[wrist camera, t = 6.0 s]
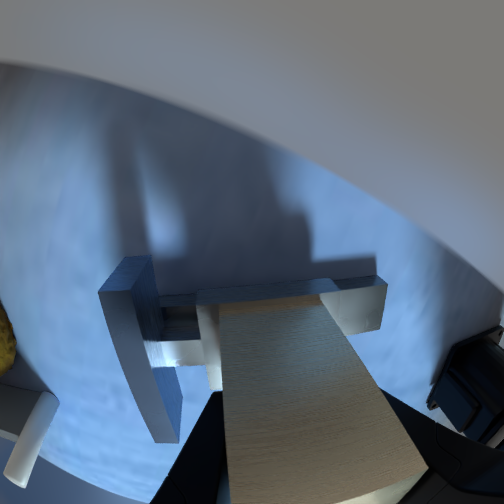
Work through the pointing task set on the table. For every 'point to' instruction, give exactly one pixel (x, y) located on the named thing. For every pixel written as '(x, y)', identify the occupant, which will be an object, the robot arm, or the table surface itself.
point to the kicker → (267, 388)
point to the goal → (24, 427)
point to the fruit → (6, 344)
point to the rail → (350, 310)
